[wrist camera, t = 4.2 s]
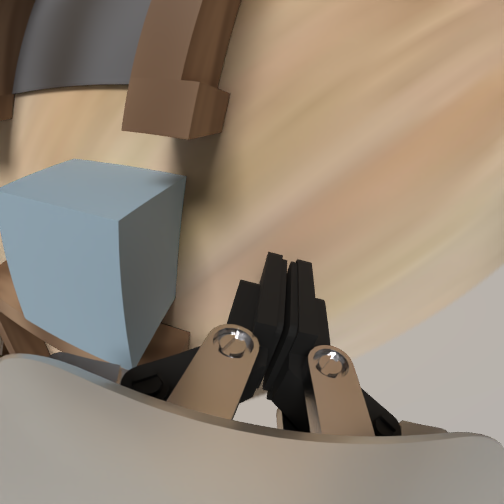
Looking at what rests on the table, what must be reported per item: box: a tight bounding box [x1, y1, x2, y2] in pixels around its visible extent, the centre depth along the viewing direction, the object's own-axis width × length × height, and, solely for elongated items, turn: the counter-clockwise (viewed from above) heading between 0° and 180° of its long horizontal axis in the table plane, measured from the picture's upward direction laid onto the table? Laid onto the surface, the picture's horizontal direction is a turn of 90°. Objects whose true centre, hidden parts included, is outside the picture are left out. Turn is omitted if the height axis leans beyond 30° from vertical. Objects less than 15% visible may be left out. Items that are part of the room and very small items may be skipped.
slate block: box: [0, 159, 187, 370], centre depth 10 cm, size 6×6×5 cm
